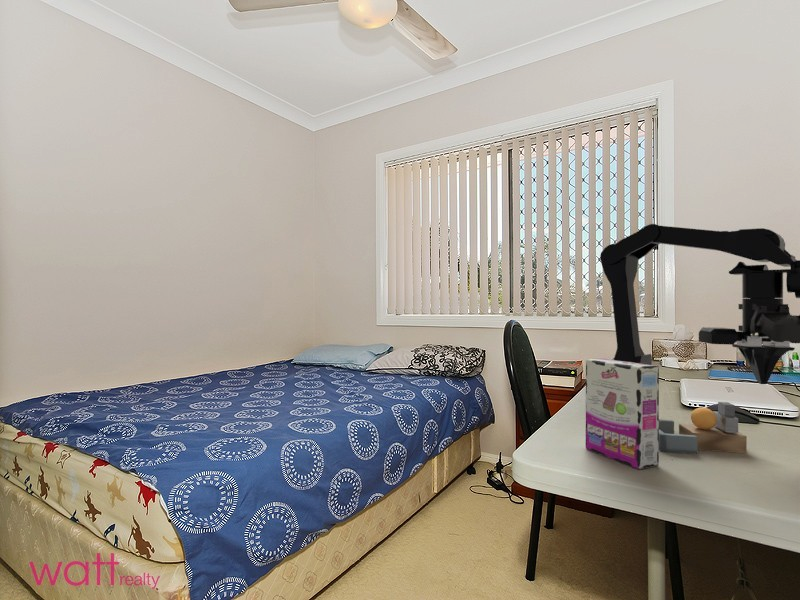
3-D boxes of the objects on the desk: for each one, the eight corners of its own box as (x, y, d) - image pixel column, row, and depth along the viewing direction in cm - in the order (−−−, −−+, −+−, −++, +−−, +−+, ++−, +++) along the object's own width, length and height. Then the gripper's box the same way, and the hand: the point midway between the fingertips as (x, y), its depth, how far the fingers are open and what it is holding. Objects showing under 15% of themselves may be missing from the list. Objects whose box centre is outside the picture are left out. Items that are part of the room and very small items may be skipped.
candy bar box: (660, 466, 70) (661, 365, 70) (639, 470, 68) (639, 367, 68) (603, 445, 81) (604, 357, 81) (583, 448, 79) (584, 358, 79)
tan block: (692, 449, 78) (692, 432, 78) (678, 439, 84) (679, 423, 84) (746, 453, 76) (746, 436, 76) (728, 442, 82) (728, 426, 82)
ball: (696, 431, 79) (696, 409, 79) (687, 425, 83) (687, 404, 83) (721, 433, 78) (721, 411, 78) (710, 426, 82) (710, 405, 82)
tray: (660, 451, 77) (660, 434, 77) (639, 432, 88) (639, 418, 88) (697, 454, 76) (697, 436, 76) (672, 435, 87) (672, 420, 87)
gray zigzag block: (725, 432, 78) (725, 406, 78) (712, 424, 82) (712, 400, 82) (738, 433, 77) (738, 406, 77) (724, 425, 82) (724, 400, 82)
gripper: (728, 298, 73) (728, 390, 73) (860, 298, 69) (860, 395, 69) (697, 298, 84) (697, 379, 84) (809, 298, 80) (809, 382, 80)
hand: (762, 383), depth 79 cm, fingers closed
